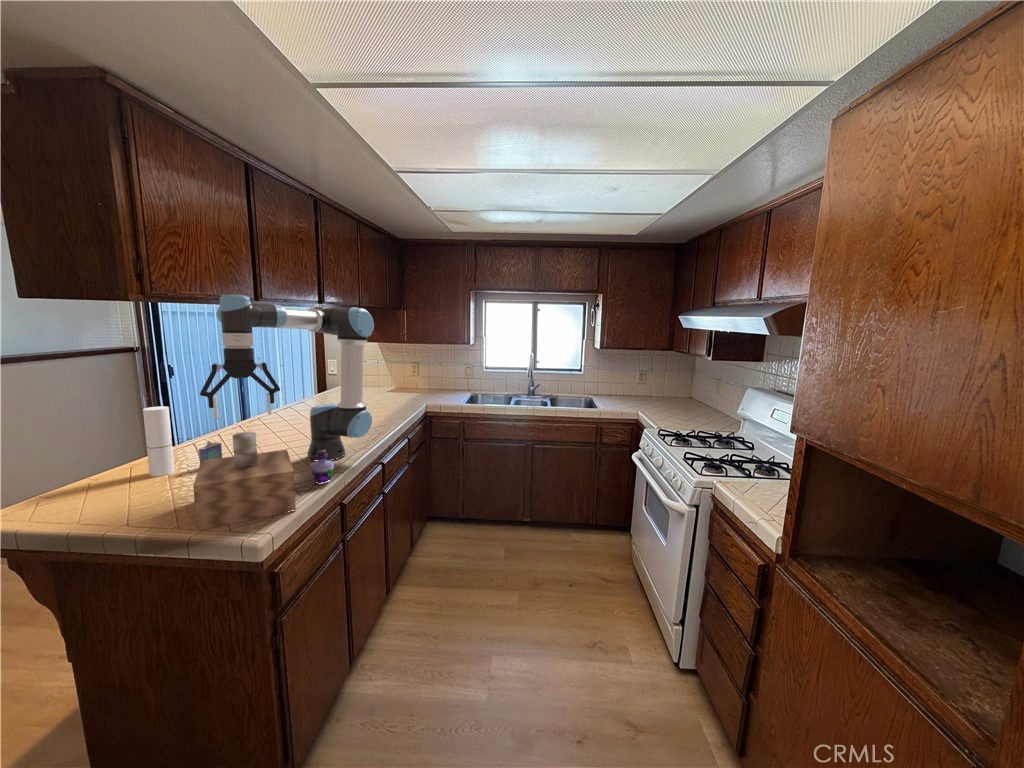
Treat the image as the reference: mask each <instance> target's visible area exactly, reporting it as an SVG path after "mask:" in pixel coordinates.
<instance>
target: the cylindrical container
mask: <svg viewBox="0 0 1024 768" xmlns="http://www.w3.org/2000/svg"><path fill="white" fill-rule="evenodd" d="M142 413H143V414H142V415H143V421H144V422H143V424H144V425H143V426H144V432H145V433H144V435H145V444H146V453H147V454H146V455H147V463H148V464H147V465H148V472H149V473H148V474H149V477H154V476H155V477H162V475H164V476H168V475H171V474H173V473H175V470H176V469H175V462H174V461H175V460H174V451H173V440H172V438H173V437H172V429H171V428H172V427H171V418H170V417H171V416H170V406H166V405H165V406H163V405H161V406H160V405H159V406H149V407H145V408H142ZM167 474H168V475H167Z"/></svg>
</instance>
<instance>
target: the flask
mask: <svg viewBox="0 0 1024 768" xmlns="http://www.w3.org/2000/svg"><path fill="white" fill-rule="evenodd" d="M222 449H223V448H222V442H212V441H210V440H207V441H206V445H204V446H202V447H200V448H198V456H199V464H200V463H201V460H209V459H217V458H223V453H222V452H223V451H222Z"/></svg>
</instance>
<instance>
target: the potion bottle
mask: <svg viewBox="0 0 1024 768" xmlns="http://www.w3.org/2000/svg"><path fill="white" fill-rule="evenodd" d="M326 458H328V453H326V450H319V451H317V454H316V459H318V461H316V462H315V461H313V462H311V463H310V464H309V465H310V466H309V468H310V472H311V476H313V479H314V483H315V482H318V483H321V482H326V481H328V480H331V478H332V475H333V474H334V467H335V460H333V461H329V460H326ZM331 481H332V480H331Z"/></svg>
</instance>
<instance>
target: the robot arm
mask: <svg viewBox="0 0 1024 768" xmlns="http://www.w3.org/2000/svg"><path fill="white" fill-rule="evenodd" d="M216 310H217V311H216V316H217V319H218V321H219V322H220V324H221V332H222V333H221V335H222V337H221V338H222V346H224V348H223V359H224V360H223V361H224V363H223V364H221V363H220V364H217V363H213V364H211V370H210V371H211V372H210V374H209V376H208V378H207V379H206V381H205V383H204V385H203V387H202V389H201V390H200V393H199V395H200V397H206V398H207V399H208V400H207V401H208V408H209V409H213V415H214V420H218V419H219V410H218V398H217V395H215V394H217V393H218V392H219V390H221V388H222V387H223V386H224V385H225V384H226V383H227V382H228V381H229V380H230V378H233V379H240V378H241V379H247V378H249V377H251V378H252V379H253V380H254V381H256V382H257V383H258V384H259V385H260V386H261V387H262V388H263V389H265V390H266V392H267V393H266V404H267V405H266V406H267V415H269V416H270V415H272V410H271V409H272V407H271V404H275V393H277V392H280V390H281V388H280V386H279V384H278V382H277V381H276V380H275V378H274V377H273V376H272V373H270V371H269V370H268V365H267V363H266V362H264V361H262V362H261V363H260V362H258V363H256V362H255V352H254V350H255V349H254V348H253V346H254V336H253V328H273V329H291V330H296V329H297V330H308V331H309V332H311V333H321V334H324V335H325V334H327V335H330V336H331V335H332V336H337V341H338V342H339V343H340V344H341V347H340V348H341V350H340V351H341V352H340V353H341V356H340V401H339V403H337V402H336V403H325V404H319V405H315V406H313V407H311V408H310V413H309V421H310V422H309V424H310V439H311V440H310V444H309V447H308V449H307V455H306V456H307V460H308V459H310V460H318V459H316V454H317V451H319V450H326V453H328V458H326V460H331V459H336V458H339V457H341V456H343V455H345V456H346V448H345V445H344V443H343V441H342V438H341V437H346V438H350V439H353V438H355V439H360V438H363V437H364V436H366V435H367V434H368V432H369V431H370V429H371V427H372V423H373V416H372V414H371V412H369V411H367V405H366V403H365V402H364V400H363V399H364V397H363V396H364V393H363V392H364V391H363V390H364V345H365V344H366V343H368V337H370V336H372V334H373V332H374V328H375V323H374V319H373V317H372V314H370V312H369V311H368V310H367V309H364V308H361V307H360V308H359V307H356V306H355V307H353V306H352V307H337V306H335V307H325V308H324V307H323V308H322V307H321V308H313V307H310V308H308V309H298V308H289V307H284V306H283V305H280V304H274V303H259V302H256V303H254V302H251V298H250V297H249V296H248V295H242V294H241V295H240V294H222V295H221V296H220V297H219V307H218V308H217V309H216ZM257 368H258V369H259V370H260V371H262V372H263V373H264V375H265V376H266V378H267V379H268V381H269V382H270V383H271V385H272V386H273V388H271V386H269V385H268V384H267V383H266V382H265V381H264V380H263V379H262V378H261V377H259V376H258V374H256V373H255V372H254V371H255V370H256V369H257ZM221 369H223V370H224V371H225V372H226V374H225V375H224V376H223V377H222V379H221V380H220V381H218V383H216V385H215V386H214V387H213V388H212V389H211V390H210V391H208V390H209V388H210V386H211V384H212V383H213V380H214V379H215V377H216V374H217V372H220V371H221ZM310 460H309V461H310Z"/></svg>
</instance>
